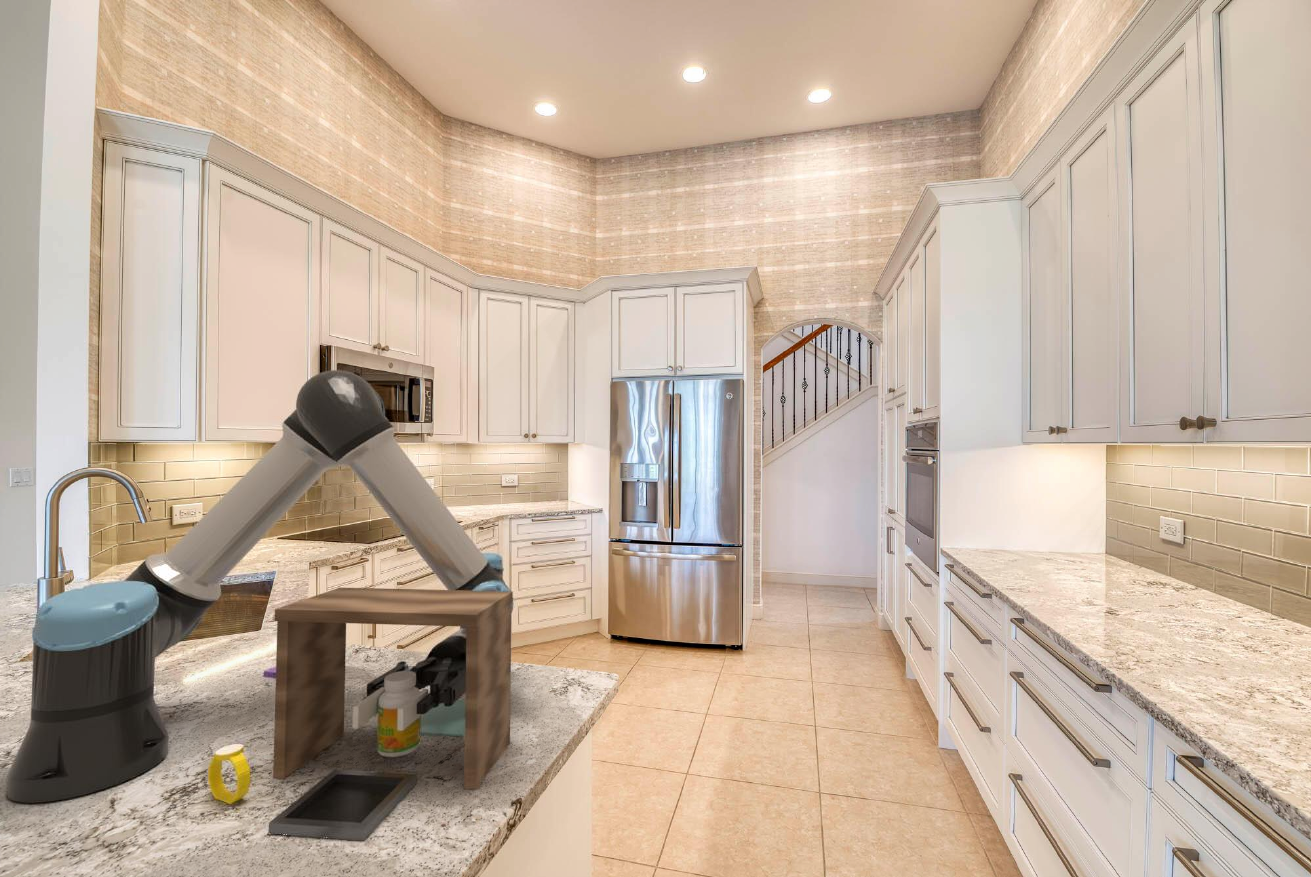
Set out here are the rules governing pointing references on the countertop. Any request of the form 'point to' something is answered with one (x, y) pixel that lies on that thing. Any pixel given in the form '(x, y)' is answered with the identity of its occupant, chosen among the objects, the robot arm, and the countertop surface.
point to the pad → (445, 720)
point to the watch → (241, 771)
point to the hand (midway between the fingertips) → (378, 718)
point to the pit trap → (344, 805)
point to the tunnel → (319, 624)
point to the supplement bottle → (394, 697)
